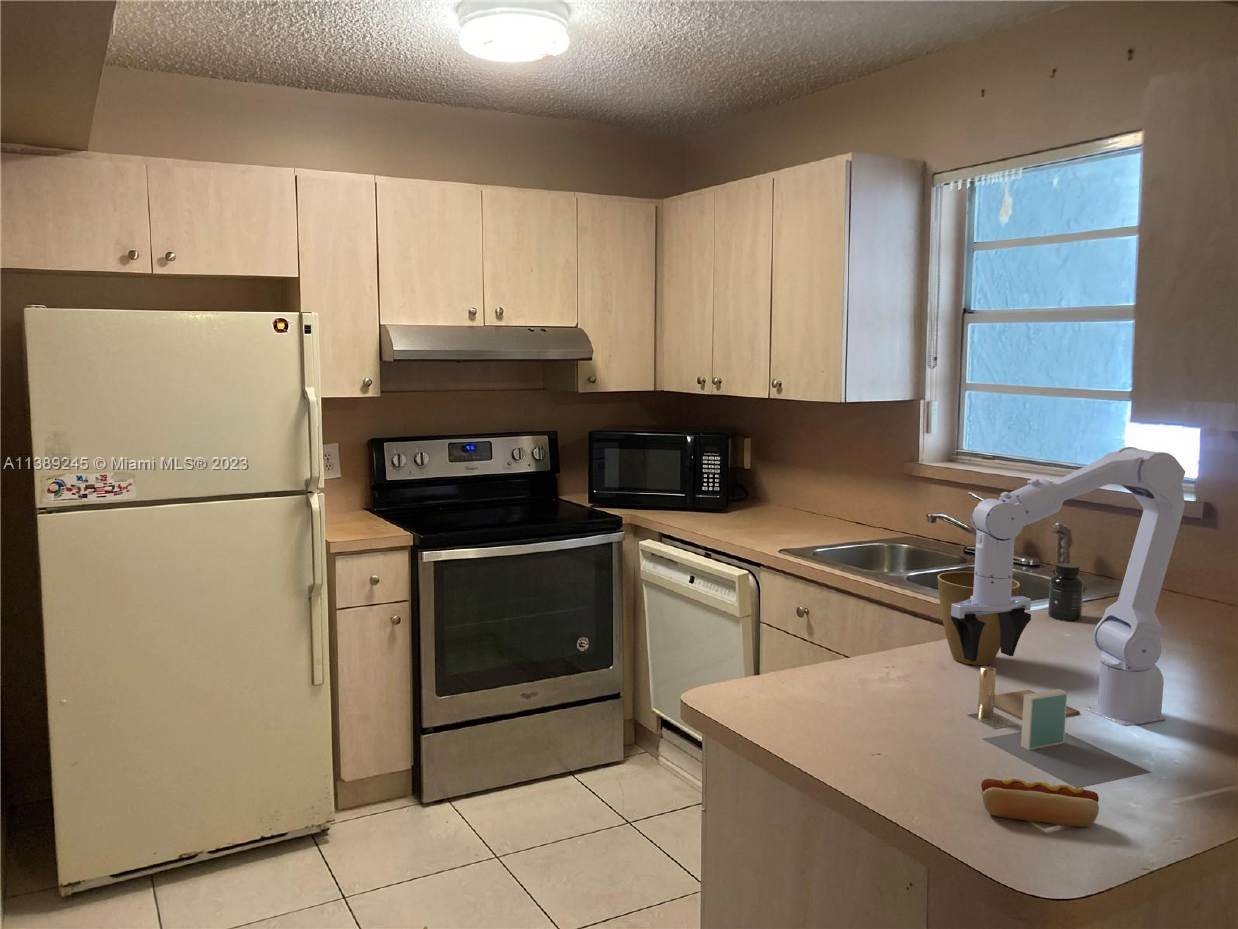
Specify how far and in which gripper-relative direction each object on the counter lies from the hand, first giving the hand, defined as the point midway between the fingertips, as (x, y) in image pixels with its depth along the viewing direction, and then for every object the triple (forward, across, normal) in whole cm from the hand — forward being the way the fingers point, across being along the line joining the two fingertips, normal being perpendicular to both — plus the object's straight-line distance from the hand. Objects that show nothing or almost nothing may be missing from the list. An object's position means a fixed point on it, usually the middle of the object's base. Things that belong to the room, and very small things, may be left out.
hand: (988, 657), depth 157 cm
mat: (+10, 0, +16) cm, 19 cm away
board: (+10, -10, -1) cm, 14 cm away
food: (+11, +18, +29) cm, 36 cm away
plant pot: (+11, -20, -25) cm, 34 cm away
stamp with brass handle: (+11, 0, +1) cm, 11 cm away
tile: (+10, 0, +12) cm, 16 cm away
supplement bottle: (+11, -61, -42) cm, 75 cm away
